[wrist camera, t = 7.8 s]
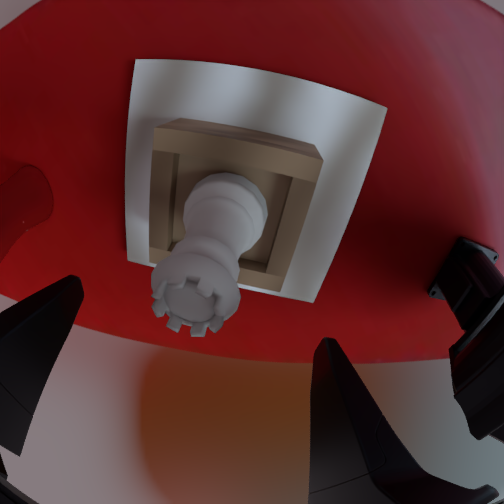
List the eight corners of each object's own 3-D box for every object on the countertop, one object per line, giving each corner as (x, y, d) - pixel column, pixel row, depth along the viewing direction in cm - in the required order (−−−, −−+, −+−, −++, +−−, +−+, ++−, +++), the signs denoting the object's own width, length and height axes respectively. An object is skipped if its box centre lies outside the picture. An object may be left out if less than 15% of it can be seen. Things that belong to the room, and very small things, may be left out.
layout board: (382, 106, 15) (415, 115, 10) (312, 294, 23) (316, 339, 19) (142, 60, 14) (101, 56, 10) (132, 253, 23) (106, 290, 19)
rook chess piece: (187, 168, 14) (110, 248, 8) (270, 171, 14) (258, 261, 7) (192, 239, 17) (141, 342, 10) (265, 245, 16) (253, 359, 10)
